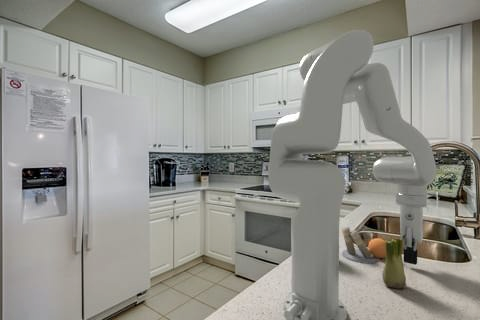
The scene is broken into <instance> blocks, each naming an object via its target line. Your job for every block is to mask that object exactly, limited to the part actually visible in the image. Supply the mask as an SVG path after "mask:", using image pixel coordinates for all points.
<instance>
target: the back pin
mask: <svg viewBox="0 0 480 320" xmlns="http://www.w3.org/2000/svg"><path fill="white" fill-rule="evenodd" d="M341 231H342V235H343V239H344V242H345V247H346V250H347V251H348V254H351V255H354V254H356V251H355V249H356V248H355V245H354V240H353V238H352V237H351V235H350V232H351V230H350V227H348V226H347V227H346V226H345V227H342V228H341Z"/></svg>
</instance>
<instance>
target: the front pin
mask: <svg viewBox="0 0 480 320" xmlns="http://www.w3.org/2000/svg"><path fill="white" fill-rule="evenodd" d="M350 235H351V237H352V240H353V243H355V245H356V247H357V249H359V250H360V251H361V253H362V255H363V256H364V257H365V258H368V257H370V256H371V253H370V251H369V248H368V246H367V245H366V244H365V242H364V240H363V238H362V237H361V235H360V234H359V232H358V231H357V230H356V229H354V230H352V231H350Z"/></svg>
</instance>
